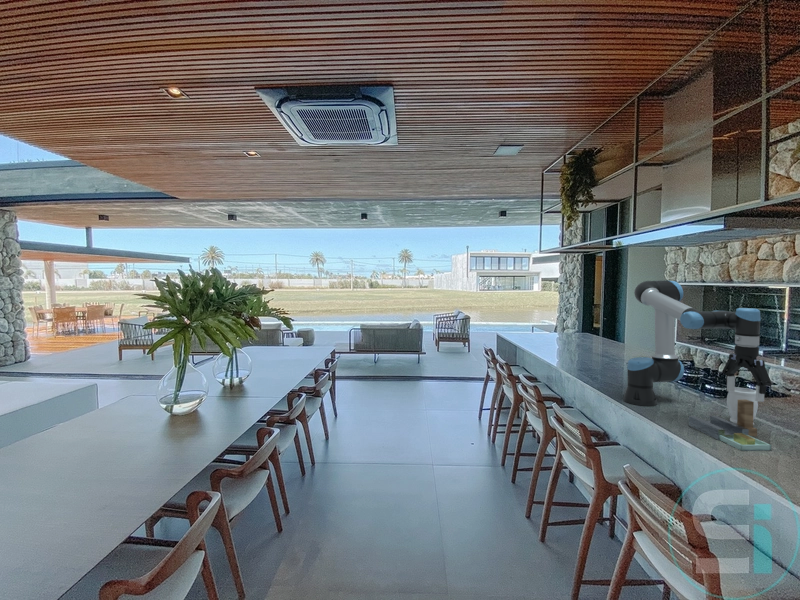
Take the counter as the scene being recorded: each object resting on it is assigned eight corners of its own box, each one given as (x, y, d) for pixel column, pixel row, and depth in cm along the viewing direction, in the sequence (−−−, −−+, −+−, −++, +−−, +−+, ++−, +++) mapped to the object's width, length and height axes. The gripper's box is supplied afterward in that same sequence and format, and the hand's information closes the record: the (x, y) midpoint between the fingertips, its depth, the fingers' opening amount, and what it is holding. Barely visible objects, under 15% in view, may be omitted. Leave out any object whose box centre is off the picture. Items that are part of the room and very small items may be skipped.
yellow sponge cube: (740, 436, 149) (747, 439, 146) (748, 435, 149) (755, 439, 146) (740, 443, 149) (747, 446, 146) (747, 443, 149) (755, 446, 146)
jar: (763, 427, 166) (764, 393, 166) (736, 426, 169) (736, 392, 168) (746, 419, 177) (747, 387, 176) (721, 418, 179) (721, 386, 178)
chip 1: (733, 440, 152) (733, 433, 152) (741, 440, 152) (741, 433, 152) (740, 443, 149) (740, 436, 149) (747, 443, 149) (748, 435, 149)
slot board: (688, 425, 170) (688, 416, 170) (715, 425, 170) (716, 415, 170) (718, 440, 154) (718, 429, 154) (748, 439, 154) (748, 429, 154)
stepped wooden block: (733, 431, 162) (733, 399, 162) (746, 431, 162) (746, 398, 162) (743, 436, 157) (744, 402, 157) (757, 436, 157) (757, 402, 157)
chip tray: (719, 440, 154) (719, 435, 154) (747, 439, 154) (747, 434, 154) (741, 450, 144) (741, 445, 144) (771, 450, 144) (771, 445, 144)
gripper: (713, 340, 171) (711, 387, 172) (766, 351, 146) (763, 406, 147) (730, 340, 171) (728, 387, 172) (785, 351, 146) (783, 405, 147)
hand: (744, 396), depth 160 cm, fingers open, 13 cm apart
